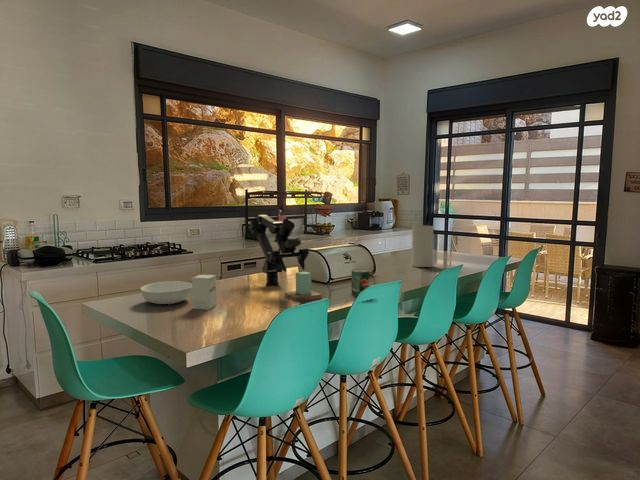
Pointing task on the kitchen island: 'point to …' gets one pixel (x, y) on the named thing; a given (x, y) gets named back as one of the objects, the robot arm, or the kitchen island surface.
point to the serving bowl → (167, 292)
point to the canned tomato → (359, 280)
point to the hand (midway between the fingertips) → (295, 270)
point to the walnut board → (302, 296)
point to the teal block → (303, 283)
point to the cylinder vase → (422, 246)
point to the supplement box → (204, 292)
